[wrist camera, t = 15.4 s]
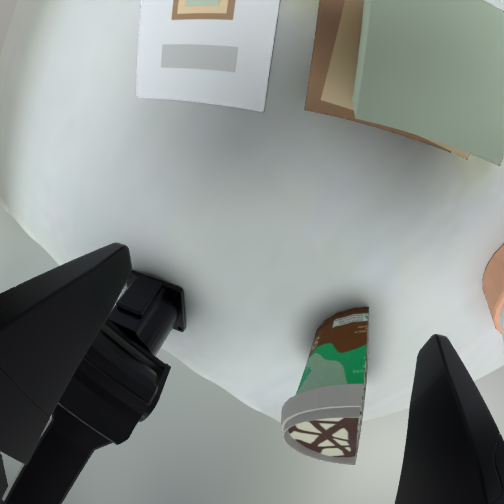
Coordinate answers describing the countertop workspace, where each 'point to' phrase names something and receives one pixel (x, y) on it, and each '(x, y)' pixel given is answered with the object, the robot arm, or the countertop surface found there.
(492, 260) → the pepper shaker
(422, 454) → the robot arm
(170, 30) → the page
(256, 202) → the countertop surface
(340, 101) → the oak brick
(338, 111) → the walnut base
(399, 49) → the sage brick
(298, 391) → the food container
